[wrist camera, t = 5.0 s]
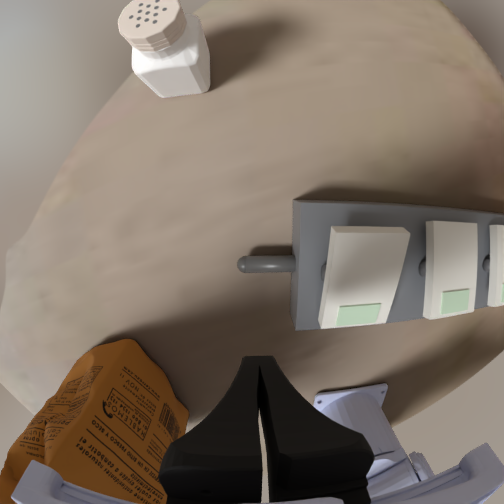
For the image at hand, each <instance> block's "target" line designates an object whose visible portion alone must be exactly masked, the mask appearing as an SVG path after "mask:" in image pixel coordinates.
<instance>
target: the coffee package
mask: <svg viewBox="0 0 504 504" xmlns="http://www.w3.org/2000/svg"><path fill="white" fill-rule="evenodd" d="M188 417H189V411H188V410H187V409H186V408H185V407H184V406H183V405H182V403H180V402H179V401H178V400H177V399H176V397H175V395H174V392H173V390H172V387H171V385H170V383H169V381H168V379H167V377H166V375H165V373H164V372H163V370H162V369H161V368H160V367H159V366H158V365H156V364H155V363H154V362H153V361H152V360H151V359H149V358H148V356H147V355H146V354H145V352H144V351H143V350H142V348H141V347H140V346H139V345H138V343H137V342H136V341H134V340H132V339H122V340H119V341H116V342H113V343H108V344H103V345H99V346H97V347H94V348H92V349H91V350H90V351H88V352H87V353H85V354H84V355H83V356H82V357H81V358H79V359H78V360H77V361H76V363H75V364H74V366H73V367H72V369H71V370H70V372H69V373H68V375H67V376H66V378H65V379H64V381H63V382H62V384H61V386H60V387H59V389H58V391H57V393H56V394H55V395H54V396H52V397H51V398H49V399H48V400H47V401H46V403H45V405H44V407H43V408H42V409H41V410H40V411H39V412H38V413H37V414H36V415H35V417H34V418H33V419H32V420H31V422H30V423H29V425H28V426H27V428H26V429H25V431H24V432H23V433H22V434H21V435H20V436H19V437H18V439H17V440H16V441H15V443H14V444H13V445H12V446H11V448H10V449H9V451H8V454H7V459H6V461H5V464H4V468H3V469H2V470H1V475H0V504H17V503H16V502H15V501H14V500H13V499H12V498H11V495H12V494H13V492H14V490H15V488H16V486H17V485H18V483H19V481H20V479H21V477H22V476H23V474H24V472H25V471H26V469H27V467H28V465H29V464H30V462H31V460H35V461H37V462H39V463H41V464H43V465H46V466H48V467H50V468H52V469H54V470H55V471H56V472H57V473H59V474H60V476H61V477H62V478H63V480H64V481H66V482H69V483H71V484H74V485H77V486H79V487H82V488H85V489H88V490H91V491H94V492H97V493H100V494H103V495H107V496H110V497H114V498H117V499H121V500H125V501H129V502H133V503H138V504H166V501H167V494H166V493H165V491H164V489H163V487H162V485H161V483H160V482H159V479H158V474H159V469H160V465H161V462H162V459H163V457H164V455H165V452H166V450H167V449H168V447H169V445H170V443H172V442H173V441H175V440H177V439H178V438H180V437H181V436H183V435H185V431H186V426H187V421H188Z"/></svg>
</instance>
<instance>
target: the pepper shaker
mask: <svg viewBox="0 0 504 504" xmlns="http://www.w3.org/2000/svg"><path fill="white" fill-rule="evenodd" d="M118 26H119V32H120V33H121V34H122V36H124V38H125V39H126V40H127V41H128V42H129V43H130V44H131V46H132V48H133V49H132V69H133V71H134V72H135V74H136V75H137V76H138V77H139V78H140V79H141V80H142V81H143V82H144V83H145V84H146V85H148V86H149V87H150V88H151V89H152V90H153V91H154V92H155V93H156V94H157V95H158V96H159V97H163V98H168V97H175V96H183V95H191V94H200V93H204V92H206V91H208V89H209V87H210V52H209V49H208V46H207V42H206V39H205V35H204V32H203V28H202V25H201V21H200V19H199V18H198V16H196V15H193V14H184V13H183V10H182V8H181V5H180V2H179V0H133V1H132V2H131V3H130V4H128V5H127V6H126V7H125V8H124V9H123V11H122V13H121V15H120V17H119V20H118Z"/></svg>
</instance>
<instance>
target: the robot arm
mask: <svg viewBox="0 0 504 504" xmlns="http://www.w3.org/2000/svg"><path fill="white" fill-rule="evenodd" d="M387 389H388V385H387V384H386V383H383V384H378V385H373V386H367V387H361V388H354V389H348V390H340V391H332V392H324V393H318V394H317V395H316V396H315V400H314V405H313V406H312V405H311V404H310V403H309V402H308V401H307V400H306V399H305V398H303V397H302V395H301V394H300V393H299V392H298V391H297V390H296V389H295V388H294V387H293V385H292V384H291V383H290V382H289V380H288V379H287V378H286V376H285V375H284V374H283V372H282V371H281V369H280V367H279V366H278V364H277V362H276V360H275V358H274V357H273V356H245V357H243V358H242V363H241V366H240V368H239V371H238V373H237V375H236V377H235V379H234V381H233V383H232V385H231V386H230V388H229V389H228V391H227V393H226V394H225V396H224V397H223V398H222V400H221V401H220V402H219V404H218V405H217V406H216V407H215V408H214V409H213V411H212V412H211V413H210V414H209V415H208V416H207V417H206V418H205V419H204V420H203V421H201V422H200V423H199V424H198V425H197V426H195V427H194V428H193V429H192V430H190V431H189V432H188V433H186V434H185V435H183V436H181V437H180V438H178V439H177V440H175V441H173V442H172V443H170V445H169V447H168V449H167V450H166V452H165V455H164V457H163V459H162V462H161V465H160V469H159V474H158V479H159V482H160V483H161V485H162V487H163V489H164V491H165V493H166V494H167V501H166V504H483V502H485V501H486V500H487V499H488V498H489V497H490V496H491V495H492V494H493V493H494V492H495V491H496V490H497V489H498V488H499V487H500V486H501V485H502V484H503V483H504V465H503V464H502V463H501V461H500V460H499V459H498V457H497V456H496V454H495V453H494V452H493V450H492V449H491V447H490V446H489V445H488V443H484V444H482V445H481V446H479V447H477V448H475V449H473V450H472V451H470V452H469V453H468V454H466V455H465V456H464V457H463V458H462V460H461V461H460V463H459V464H458V465H456V466H454V467H452V468H450V469H448V470H446V471H444V472H442V473H439V474H437V475H434V473H433V471H432V470H431V468H430V466H429V464H428V463H427V461H426V459H425V458H424V456H423V454H422V453H416V452H412V453H411V454H409V456H410V459H411V461H412V463H411V461H410V459H409V458H408V456H407V454H406V453H405V451H404V449H403V448H402V446H401V445H400V443H399V441H398V439H397V437H396V435H395V433H394V431H393V430H392V427H391V426H390V424H389V422H388V420H387V418H386V416H385V414H384V412H383V411H382V409H381V407H382V404H383V401H384V398H385V395H386V392H387ZM320 400H321V401H320ZM259 410H260V416H261V422H262V427H263V433H264V439H265V444H266V452H267V468H268V486H269V503H261V496H262V472H263V467H262V453H261V444H260V435H259V424H258V416H259ZM412 464H413V465H412ZM413 466H414V467H413ZM414 468H415V469H414ZM415 470H416V471H415ZM416 472H417V473H416ZM11 498H12V499H13V500H14V501H15V502H16V503H17V504H138V503H133V502H129V501H125V500H121V499H117V498H114V497H110V496H107V495H103V494H100V493H97V492H94V491H91V490H88V489H85V488H82V487H79V486H77V485H74V484H71V483H69V482H66V481H64V480H63V478H62V477H61V476H60V474H59V473H57V472H56V471H55V470H54V469H52V468H50V467H48V466H46V465H43V464H41V463H39V462H37V461H35V460H31V462H30V464H29V465H28V467H27V469H26V471H25V472H24V474H23V476H22V477H21V479H20V481H19V483H18V485H17V486H16V488H15V490H14V492H13V494H12V495H11Z"/></svg>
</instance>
